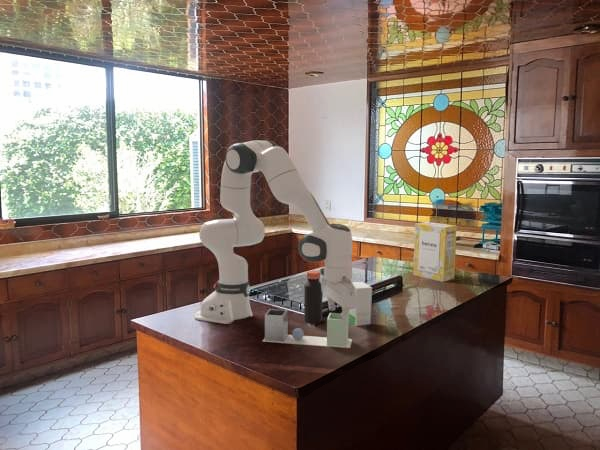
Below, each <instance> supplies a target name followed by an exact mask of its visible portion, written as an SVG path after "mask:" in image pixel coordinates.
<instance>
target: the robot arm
mask: <svg viewBox="0 0 600 450" xmlns="http://www.w3.org/2000/svg"><path fill="white" fill-rule="evenodd" d="M224 155H225V157H224V158H225V159H224V162H223V166H222V171H221V179H220V195H219V196H220V198H219V201H220V205H221V206H222V208H223V209H224V210H226V211H228V212H230V213H233V218H224V219H223V218H221V219H213V220H210V221H205V222H204V223H203V224H202V225H201V227H200V229H199V240H200V242H201V244H202V245H203V246H204V247H205V248H207V249H209V251H211V252H212V253H213V255H214V256H215V259H216V260H217V264H218V265H217V266H218V272H219V273H218V274H219V277H218V280H217V281H216V282H215V284H214V285H213V288H214V289H215V290H214V291H213V292H212V293H210V294H209V295H208V296H206V297H205V298H204V299H203V300H202V302H201V304H200V309H199V310H198V311H197V312H196V313H195V314H194V319H195V320H198V321H204V322H210V323H211V322H212V323H218V324H224V325H230V324H232V323H233V322H234V321H236V320H242V319H246V318H248V317H253V312H252V309H251V304H250V303H251V302H250V281H249V272H248V271H249V264H248V261H247V260H246V259H245V258H244V257H243V256H240V255H238V254H236V253H235V252H234V248H235V247H236V248H237V247H238V248H239V247H246V246H253V245H257V244H260V243H261V242H262V241H263V240H264V237H265V235H266V229H265V225H264V223H263V222H262V220H261V219H259V218H258V217H257V216H256V215H255V213H254V212H253V210H252V207H251V188H252V185H251V184H252V175H253V174H254V173H259V172H261V173H262V174H263V175H264V178H265V180H266V183H267V185H268V186H269V189H270V192H271V193H272V194H273V196H274V197H275V199H276V200H277V201H278V202H280V203H282V204H285V205H289V206H291V207H294V208H295V209H297V210H298V211H300V213H301V214H302V215H303V216H304V218H305V220H306V222H307V223H308V225H309V227H310V230H312V232H310V233H307V234H305V235H303V236H302V237H300V239H299V241H298V243H297V244H298V246H297V248H298V253H299V255H300V257H301V258H302V260H304V261H305V262H307V263H316V262H317V263H318V262H324V267H320V269H319V272H320V283H321V290H322V295H324V296H325V297H327V298H326V300H327V303H328V310H329V311H331V312H333V311H334V312H335V310H336V305H335V303H336V304H337V305H339V306H340V307H341V310H342V311H341V312H340V314H341V318H342V319H343V320H346V319H347V318H348V312H349V310H350V309H355V307H356V290H355V286H354V285H353V284H352V280H353V262H352V254H353V236H352V230H351V229H350V228H349V227H348V226H346V225H344V224H340V223H329V221H328V219H327V218H326V216H325V214H324V212H323V210H322V209H321V208H320V205H319V204H318V202H317V201H316V199H315V197H314V196H313V194H312V192H310V190H309V189H308V187H307V185H306V184H305V182H304V180H303V179H302V177H301V175H300V173H299V171H298V169H297V167H296V165H295V163H294V161H293V159H292V158H291V156H290V154H289V153H288V152H287V151H286V149H284V148H283V147H282V146H280V145H278V144H277V142H274V141H272V140H269V139H264V140H257V139H255V140H250V141H245V142H237V143H233V144H232V145H230V146H229V147H228V148H227V149H226V152H225V154H224Z"/></svg>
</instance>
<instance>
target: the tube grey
mask: <svg viewBox="0 0 600 450" xmlns="http://www.w3.org/2000/svg"><path fill="white" fill-rule="evenodd" d="M288 311H289V310H288V309H275V308H274V309H272V308H269V309H268V311H266V313H265V314H264V338H265V341H275V342H274V343H277V342H284V341H285V339H286V337H287V335H289V334H288V332H289V328H288V317H289V316H288Z"/></svg>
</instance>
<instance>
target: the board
mask: <svg viewBox="0 0 600 450" xmlns="http://www.w3.org/2000/svg"><path fill="white" fill-rule="evenodd" d="M352 341H353V339H352V338H348V342H347V346H346V347H341V346H328V345H327V336H324V337H323V336H315V335H314V336H311V335H304V336H303V338H302V339H300V340H296V339H294V338H293V336H292V334H288V335H287V337H286V339H285V341H284V342H275V341H265V337H264V338H263V339H262V342H266V343H267V342H268V343H279V344H290V345H291V344H293V345H305V346H317V347H318V346H320V347H331V348H332V347H333V348H345V349H350V348H351V345H352Z"/></svg>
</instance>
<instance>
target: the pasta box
mask: <svg viewBox="0 0 600 450" xmlns="http://www.w3.org/2000/svg"><path fill="white" fill-rule="evenodd" d="M457 226H458V225H456V224H449V223H448V224H446V223H438V222H429V221H424V222H418V223H417V222H416V223H414V242H413V243H414V246H413V247H414V249H413V270H412V271H413V274H412V275H413V276H415V277H420V278H424V279H429V280H434V281H437V282H447V281H451V280H454V279H455V275H456V274H455V273H456V271H455V270H456V253H457V252H456V250H457V232H458V231H457V230H458V229H457V228H458V227H457Z"/></svg>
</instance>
